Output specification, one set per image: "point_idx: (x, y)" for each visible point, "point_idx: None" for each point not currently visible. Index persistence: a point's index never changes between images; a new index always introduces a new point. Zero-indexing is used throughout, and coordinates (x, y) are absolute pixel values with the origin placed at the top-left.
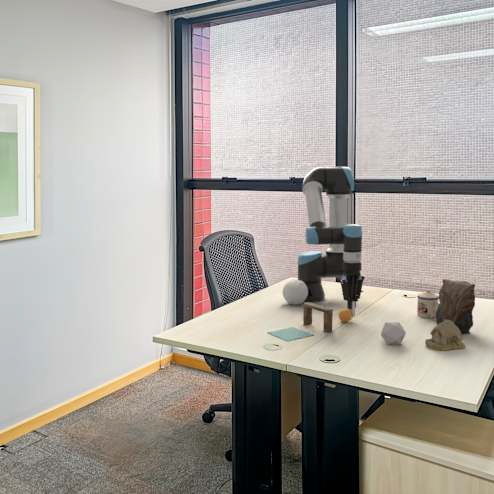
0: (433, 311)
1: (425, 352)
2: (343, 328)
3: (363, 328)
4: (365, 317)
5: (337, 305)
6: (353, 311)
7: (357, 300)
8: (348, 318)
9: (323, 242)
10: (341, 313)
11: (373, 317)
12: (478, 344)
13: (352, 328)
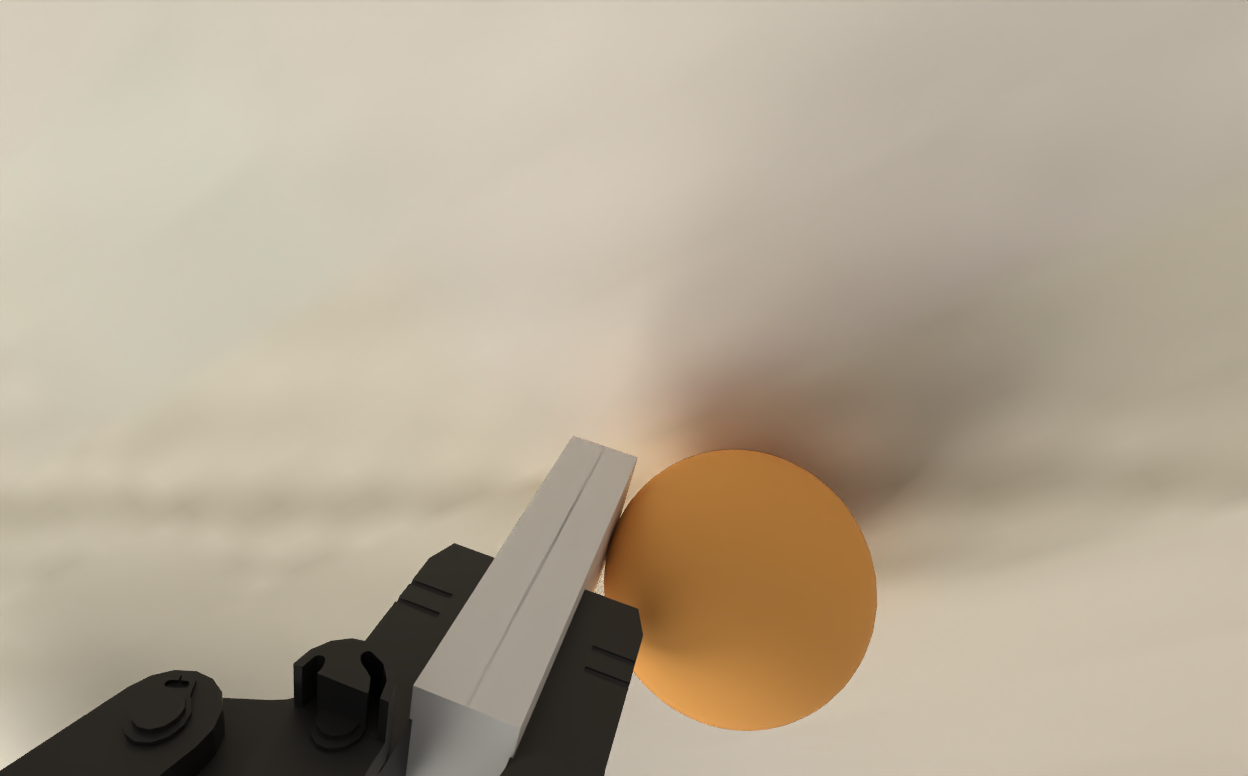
0: None
1: None
2: (1204, 377)
3: (990, 5)
4: (305, 349)
5: None
6: (587, 516)
7: (346, 665)
8: (813, 480)
9: None
10: (852, 669)
11: (209, 244)
12: None
13: (1115, 221)
